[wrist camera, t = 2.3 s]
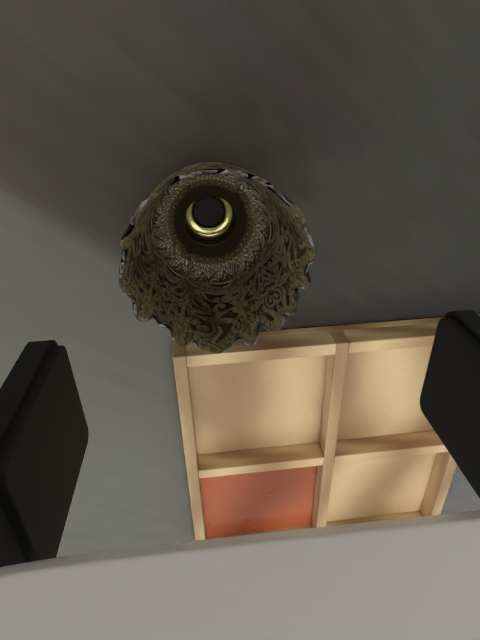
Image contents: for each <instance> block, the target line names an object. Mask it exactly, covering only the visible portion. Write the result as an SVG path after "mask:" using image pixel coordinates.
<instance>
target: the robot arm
mask: <svg viewBox="0 0 480 640" xmlns="http://www.w3.org/2000/svg"><path fill="white" fill-rule="evenodd" d="M420 408H421V411H422V413H423V414H424V416H425V417H426V419H427V420H428V422H429V423H430V425H431V426H432V428H433V429H434V431H435V432H436V434H437V435H438V437H439V438H440V440H441V441H442V443H443V444H444V446H445V447H446V449H447V450H448V452H449V453H450V455H451V456H452V458H453V459H454V461H455V462H456V464H457V465H458V467H459V468H460V470H461V471H462V473H463V474H464V476H465V477H466V479H467V480H468V482H469V483H470V484H471V486H472V487H473V489H474V490H475V492H476V493H477V495H478V496H479V498H480V315H478V314H477V313H476V312H474V311H473V310H467V311H453V312H448V313H447V314H446V315H445V317H444V318H441V319H440V320H439V322H438V325H437V329H436V333H435V338H434V342H433V346H432V350H431V354H430V358H429V362H428V367H427V371H426V375H425V379H424V383H423V387H422V391H421V396H420ZM87 443H88V427H87V423H86V419H85V416H84V412H83V409H82V405H81V401H80V398H79V394H78V390H77V387H76V383H75V380H74V376H73V372H72V369H71V365H70V361H69V358H68V354H67V351H66V348H65V347H64V346H58V344H57V343H56V341H54V340H49V341H35V342H28V344H27V345H26V346H25V348H24V350H23V351H22V353H21V355H20V356H19V358H18V360H17V361H16V363H15V365H14V366H13V368H12V370H11V371H10V373H9V375H8V377H7V378H6V380H5V382H4V383H3V385H2V387H1V388H0V640H480V511H471V512H461V513H451V514H441V515H432V516H422V517H412V518H402V519H392V520H383V521H373V522H364V523H354V524H345V525H335V526H326V527H317V528H307V529H298V530H289V531H280V532H270V533H261V534H252V535H243V536H234V537H225V538H216V539H207V540H198V541H189V542H180V543H172V544H163V545H154V546H145V547H136V548H128V549H120V550H112V551H104V552H97V553H89V554H81V555H73V556H65V557H58V558H56V555H57V552H58V548H59V544H60V541H61V537H62V533H63V530H64V526H65V523H66V519H67V515H68V512H69V508H70V505H71V501H72V497H73V494H74V490H75V487H76V483H77V479H78V476H79V472H80V468H81V465H82V461H83V458H84V454H85V450H86V447H87Z"/></svg>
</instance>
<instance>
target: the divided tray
mask: <svg viewBox="0 0 480 640" xmlns="http://www.w3.org/2000/svg"><path fill="white" fill-rule="evenodd" d="M478 315H480V314H478ZM441 318H444V317H438V318H425V319H412V320H400V321H387V322H375V323H362V324H349V325H337V326H324V327H312V328H299V329H286V330H278V331H275V332H270V331H261V332H258V339H257V344H255V345H254V346H251V345H247V344H245V343H244V342H243V340H242V339H240V340H238V341H237V342H235V343H234V344H233V345H232V346H231V347H230V348H228V349H227V350H225V351H224V352H222V353H220V354H215V353H211V352H207V351H204V350H201V349H200V348H198V347H197V346H196V345H195V344H193V343H191V344H190V345H188V346H187V347H184V348H182V347H179V346H178V345H176V344H175V343H174V342H173V366H174V374H175V382H176V390H177V398H178V406H179V414H180V422H181V430H182V438H183V446H184V454H185V462H186V470H187V478H188V486H189V494H190V502H191V510H192V518H193V526H194V534H195V541H198V540H207V539H216V538H225V537H234V536H243V535H252V534H261V533H270V532H280V531H289V530H298V529H307V528H317V527H326V526H335V525H345V524H354V523H364V522H373V521H383V520H392V519H402V518H412V517H422V516H432V515H440V513H441V510H442V507H443V504H444V501H445V498H446V495H447V492H448V489H449V487H450V484H451V481H452V478H453V475H454V472H455V469H456V466H457V464H456V462H455V461H454V459H453V458H452V456H451V455H450V453H449V452H448V450H447V449H446V447H445V446H444V444H443V443H442V441H441V440H440V438H439V437H438V435H437V434H436V432H435V431H434V429H433V428H432V426H431V425H430V423H429V422H428V420H427V419H426V417H425V416H424V414H423V413H422V411H421V408H420V396H421V391H422V387H423V383H424V379H425V375H426V371H427V367H428V362H429V358H430V354H431V350H432V346H433V342H434V338H435V333H436V329H437V325H438V322H439V320H440V319H441ZM242 342H243V343H242Z"/></svg>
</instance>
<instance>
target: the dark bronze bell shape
mask: <svg viewBox="0 0 480 640" xmlns="http://www.w3.org/2000/svg"><path fill="white" fill-rule="evenodd" d="M204 197H213V198H216V199H218V200H219V201H220V202H221V203H222V205H223V208H224V217H223V219H222V221H221V222H220V223H219V224H218V225H216V226H213V227H205V226H202V225H200V224H199V223H198V222H197V221H196V219H195V217H194V207H195V205H196V203H197V202H198V201H199V200H200V199H202V198H204ZM305 222H306V218H305V216H304V214H303V213H302V212H301V210H300V209H299V208H298V207H297V206H296V205H294V204H293V203H292V202H291V201H289V200H288V199H287V198H286V196H284V195H283V194H282V192H281V191H280V190H279V189H278V188H276V187H274V186H273V185H271V184H270V183H269V181H268V180H266V179H264V178H261V177H259V176H257V175H255V174H254V173H252V172H250V171H248V170H246V169H244V168H241V167H239V166H236V165H232V164H228V163H222V162H203V163H197V164H193V165H190V166H187V167H184V168H182V169H180V170H178V171H176V172H174V173H173V174H171V175H169V176H168V177H167V178H166V179H164V180H163V181H162V182H161V183H160V184H159V185H158V186H157V187H156V188H155V189H154V190H153V191H152V192H151V193H150V194H149V195H148V196H147V197H146V199H145V200H143V201H142V202H141V203H140V204H139V206H138V207H137V208H136V210H135V211H134V213H133V215H132V217H131V219H130V225H129V227H128V228H127V230H126V232H125V233H124V235H123V236H122V238H121V240H120V245H119V247H120V248H121V249H123V251H122V258H121V262H120V267H119V285H120V288H121V290H122V291H123V293H124V294H125V295H126V296H127V297H128V298H129V299H131V301H132V302H133V311H134V314H135V316H136V318H137V319H138V320H139V321H140V322H148V321H150V319H152V318H154V319H155V320H156V322H157V324H158V325H159V326H162V327H164V326H165V327H166V328H168V329H169V330H170V332H171V335H172V342H174V343H175V344H176V345H178V346H179V347H182V348H184V347H187V346H188V345H190V344H191V343H193V344H195V345H196V346H197V347H198V348H200V349H201V350H204V351H207V352H211V353H215V354H220V353H222V352H224V351H225V350H227V349H228V348H230V347H231V346H232V345H233V344H234V343H235V342H237V341H238V340H240V339H242V340H243V342H244V343H245V344H247V345H251V346H254V345H255V344H257V339H258V332H259V328H260V327H262V328H264V329H265V330H268V331H270V332H275V331H278V330H280V329H281V328H282V327H283V325H284V323H285V322H286V319H285V316H287V317H288V316H294V315H295V314H296V309H297V300H298V298H299V292H298V288H304V289H305V288H309V287H310V286H311V280H310V276H309V273H308V267H309V265H310V264H311V263H313V260H314V256H315V251H316V250H315V245H314V242H313V239H312V237H311V235H310V232H309V229H308V227H307V225H306V224H305ZM149 316H151V317H149ZM243 342H242V343H243Z"/></svg>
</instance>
